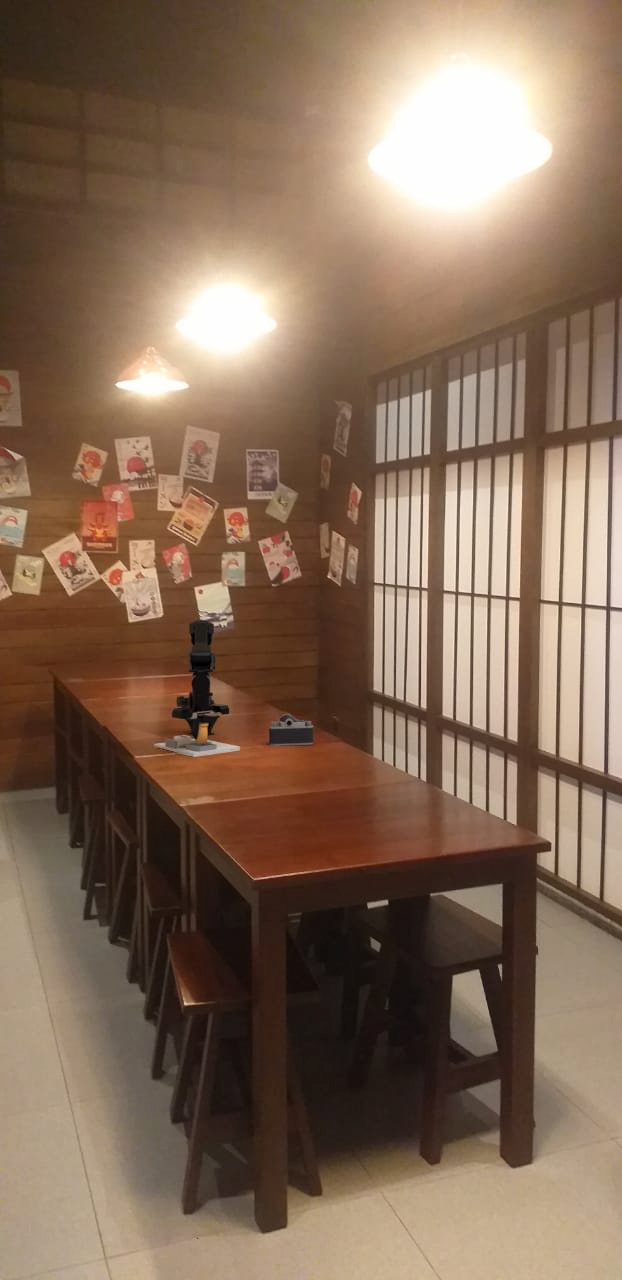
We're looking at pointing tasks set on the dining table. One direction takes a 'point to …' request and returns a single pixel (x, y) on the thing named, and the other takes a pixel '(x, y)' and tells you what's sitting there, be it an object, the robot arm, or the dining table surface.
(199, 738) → the cap
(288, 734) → the camera
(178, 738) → the block
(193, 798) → the dining table surface
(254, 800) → the dining table surface
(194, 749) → the board
